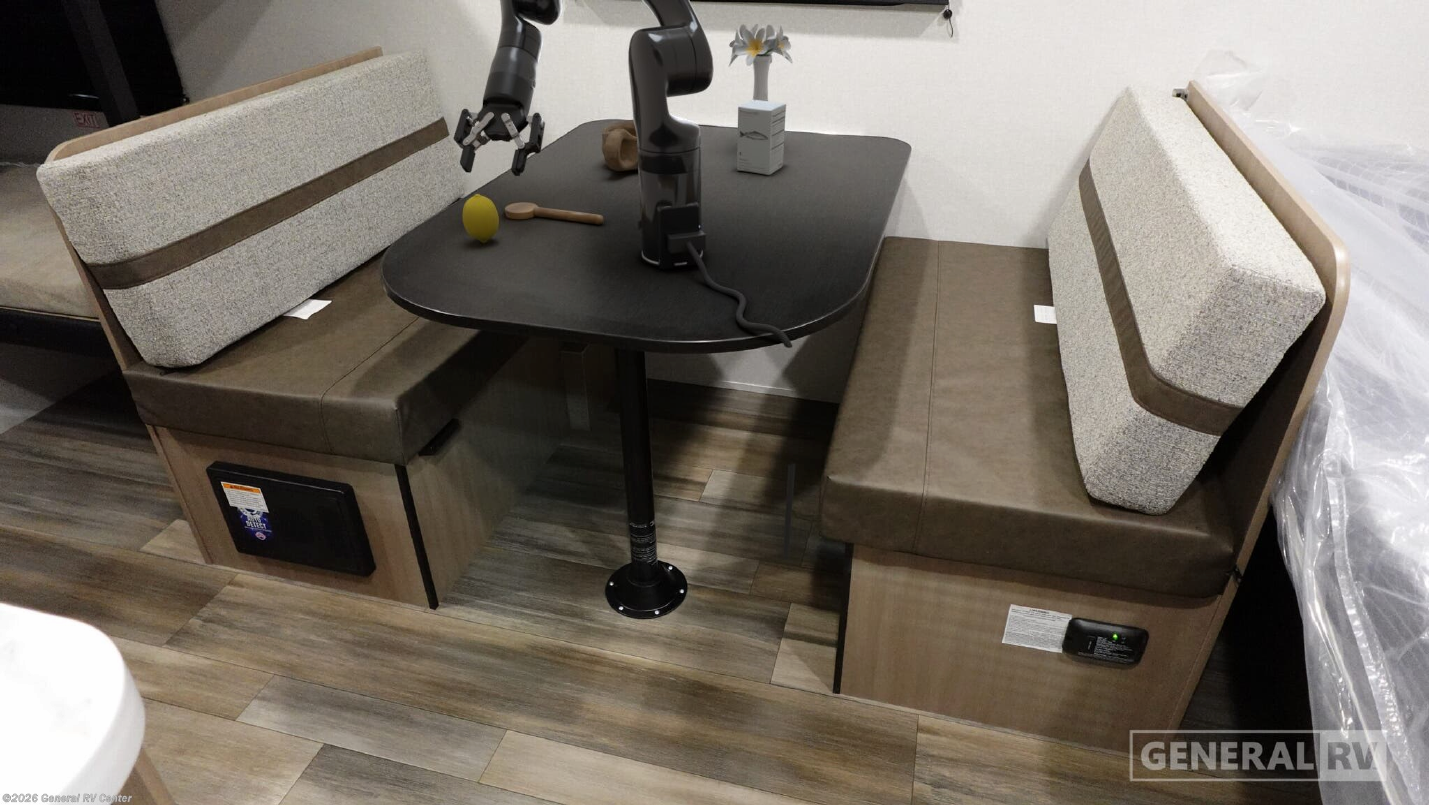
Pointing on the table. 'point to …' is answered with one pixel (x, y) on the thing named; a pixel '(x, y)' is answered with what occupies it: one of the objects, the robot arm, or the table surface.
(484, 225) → the lemon
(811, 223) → the table surface
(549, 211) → the spoon
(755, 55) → the flower vase
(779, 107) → the white packaging box
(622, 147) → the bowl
